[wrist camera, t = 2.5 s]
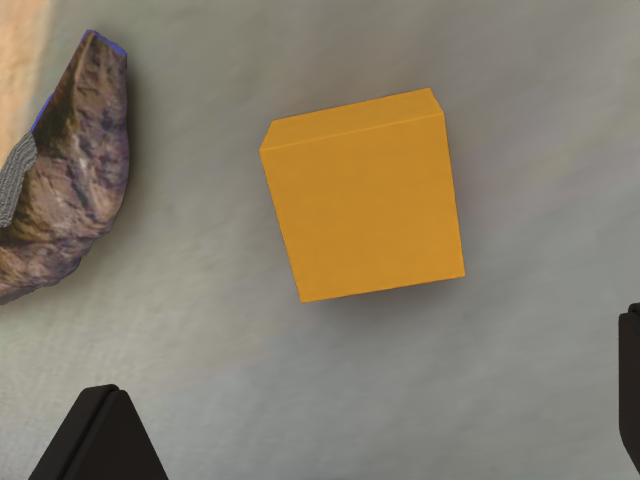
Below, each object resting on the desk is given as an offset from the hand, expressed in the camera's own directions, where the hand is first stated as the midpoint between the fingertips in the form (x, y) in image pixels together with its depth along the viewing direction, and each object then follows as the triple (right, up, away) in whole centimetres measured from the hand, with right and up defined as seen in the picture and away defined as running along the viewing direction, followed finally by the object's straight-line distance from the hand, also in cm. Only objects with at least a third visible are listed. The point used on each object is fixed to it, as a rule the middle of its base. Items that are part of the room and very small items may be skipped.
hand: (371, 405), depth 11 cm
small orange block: (+1, +6, +14) cm, 16 cm away
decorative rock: (-15, +6, +14) cm, 21 cm away
